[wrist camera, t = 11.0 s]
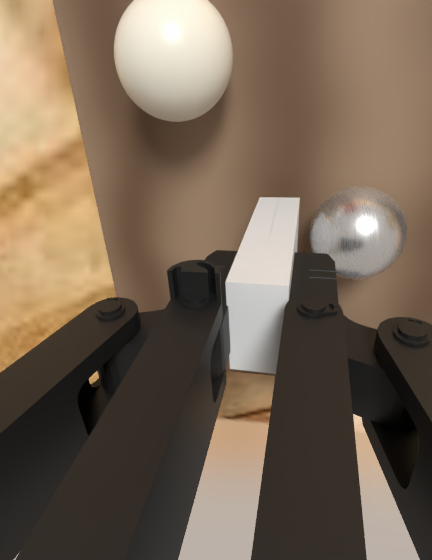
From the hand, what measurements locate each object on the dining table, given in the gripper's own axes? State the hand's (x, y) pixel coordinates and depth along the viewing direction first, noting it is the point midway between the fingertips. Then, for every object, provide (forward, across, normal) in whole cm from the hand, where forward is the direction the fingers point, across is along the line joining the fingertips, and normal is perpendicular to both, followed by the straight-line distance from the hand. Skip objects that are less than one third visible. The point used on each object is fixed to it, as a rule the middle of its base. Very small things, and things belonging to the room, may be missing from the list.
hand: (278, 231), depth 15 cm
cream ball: (0, -3, +6) cm, 7 cm away
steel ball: (0, +3, 0) cm, 3 cm away
